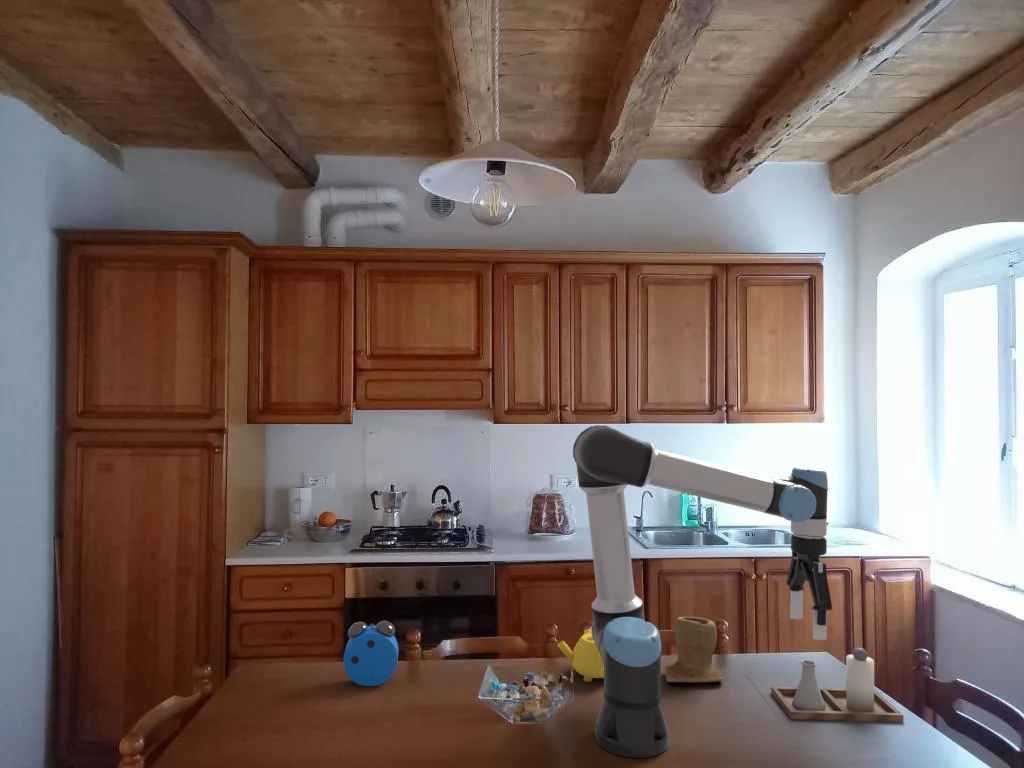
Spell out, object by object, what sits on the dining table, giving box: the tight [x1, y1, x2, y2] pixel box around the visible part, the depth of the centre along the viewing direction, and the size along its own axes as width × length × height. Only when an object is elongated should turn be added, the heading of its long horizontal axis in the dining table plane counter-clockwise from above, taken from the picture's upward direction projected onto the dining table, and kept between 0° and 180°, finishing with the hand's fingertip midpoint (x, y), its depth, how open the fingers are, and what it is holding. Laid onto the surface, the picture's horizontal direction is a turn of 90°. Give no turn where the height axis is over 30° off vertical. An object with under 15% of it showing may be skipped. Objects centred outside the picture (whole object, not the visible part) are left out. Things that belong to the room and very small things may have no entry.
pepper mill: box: [845, 647, 875, 712], centre depth 154 cm, size 6×6×14 cm
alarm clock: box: [342, 620, 399, 687], centre depth 168 cm, size 13×6×15 cm, turn 98°
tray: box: [770, 686, 904, 723], centre depth 155 cm, size 24×13×2 cm, turn 87°
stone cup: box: [664, 616, 724, 683], centre depth 172 cm, size 15×12×15 cm
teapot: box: [557, 628, 604, 683], centre depth 174 cm, size 14×14×11 cm
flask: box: [792, 659, 826, 711], centre depth 155 cm, size 7×7×10 cm
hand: (807, 628), depth 155 cm, fingers open, 13 cm apart
